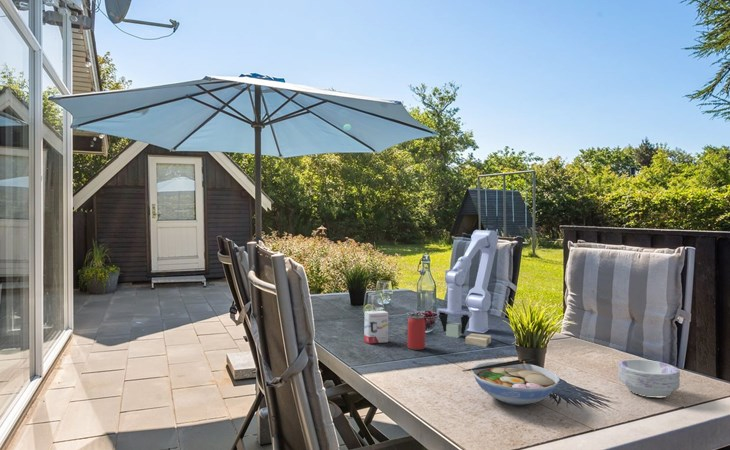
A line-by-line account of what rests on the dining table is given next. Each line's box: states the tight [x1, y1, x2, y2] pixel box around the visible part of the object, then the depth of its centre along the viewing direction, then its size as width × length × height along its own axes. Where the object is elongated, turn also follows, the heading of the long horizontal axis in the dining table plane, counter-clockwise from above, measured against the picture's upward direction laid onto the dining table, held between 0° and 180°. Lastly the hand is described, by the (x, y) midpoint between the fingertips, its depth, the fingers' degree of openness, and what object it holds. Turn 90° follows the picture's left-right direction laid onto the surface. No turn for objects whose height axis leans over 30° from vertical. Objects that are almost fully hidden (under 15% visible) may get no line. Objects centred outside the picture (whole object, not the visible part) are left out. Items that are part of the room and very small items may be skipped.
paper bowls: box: [617, 358, 681, 397], centre depth 139 cm, size 15×15×8 cm
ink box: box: [363, 310, 389, 345], centre depth 190 cm, size 9×5×12 cm, turn 113°
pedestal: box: [464, 332, 492, 348], centre depth 191 cm, size 8×8×3 cm
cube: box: [445, 322, 463, 339], centre depth 202 cm, size 5×5×5 cm
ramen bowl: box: [461, 357, 561, 406], centre depth 132 cm, size 25×23×8 cm
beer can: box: [406, 314, 427, 351], centre depth 182 cm, size 7×7×12 cm
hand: (453, 332), depth 202 cm, fingers open, 7 cm apart
